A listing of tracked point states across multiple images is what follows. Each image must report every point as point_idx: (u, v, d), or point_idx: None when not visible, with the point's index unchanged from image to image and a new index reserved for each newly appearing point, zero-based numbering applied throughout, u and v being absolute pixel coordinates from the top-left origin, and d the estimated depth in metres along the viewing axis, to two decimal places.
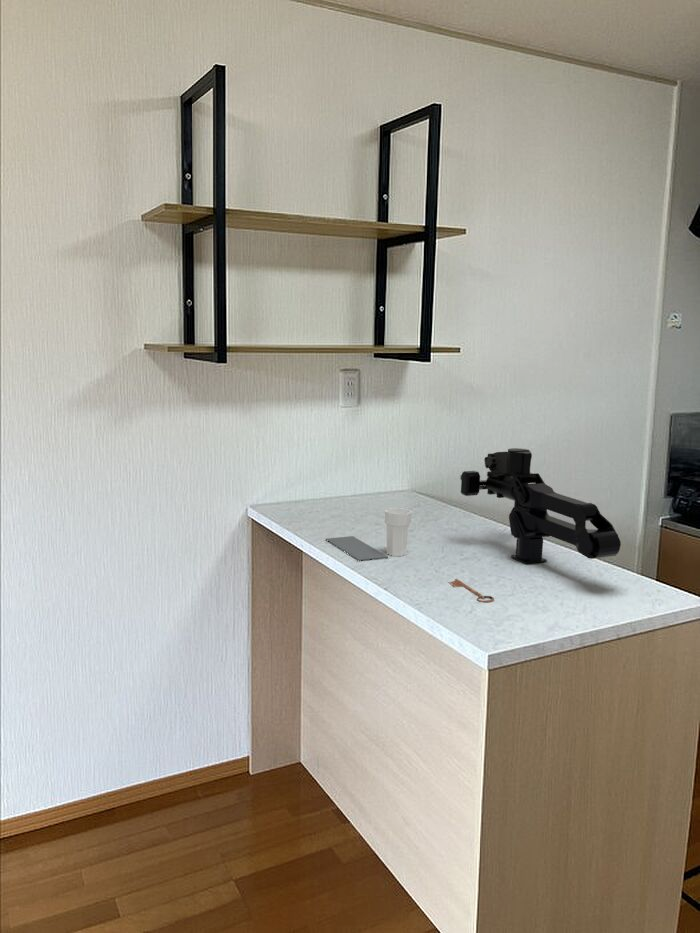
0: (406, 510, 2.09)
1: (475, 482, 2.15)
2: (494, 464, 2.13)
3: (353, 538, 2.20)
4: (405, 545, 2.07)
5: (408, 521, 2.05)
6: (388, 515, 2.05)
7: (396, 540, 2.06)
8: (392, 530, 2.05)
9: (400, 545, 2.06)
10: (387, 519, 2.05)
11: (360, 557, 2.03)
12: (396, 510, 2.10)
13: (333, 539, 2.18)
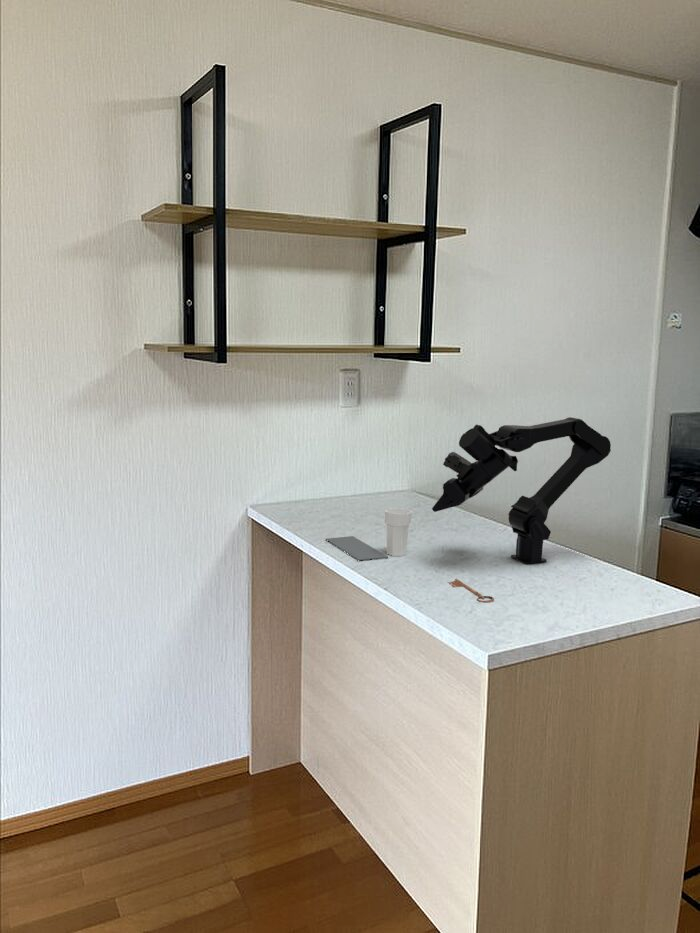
0: (406, 510, 2.09)
1: (460, 484, 1.95)
2: (459, 459, 1.98)
3: (353, 538, 2.20)
4: (405, 545, 2.07)
5: (408, 521, 2.05)
6: (388, 515, 2.05)
7: (396, 540, 2.06)
8: (392, 530, 2.05)
9: (400, 545, 2.06)
10: (387, 519, 2.05)
11: (360, 557, 2.03)
12: (396, 510, 2.10)
13: (333, 539, 2.18)
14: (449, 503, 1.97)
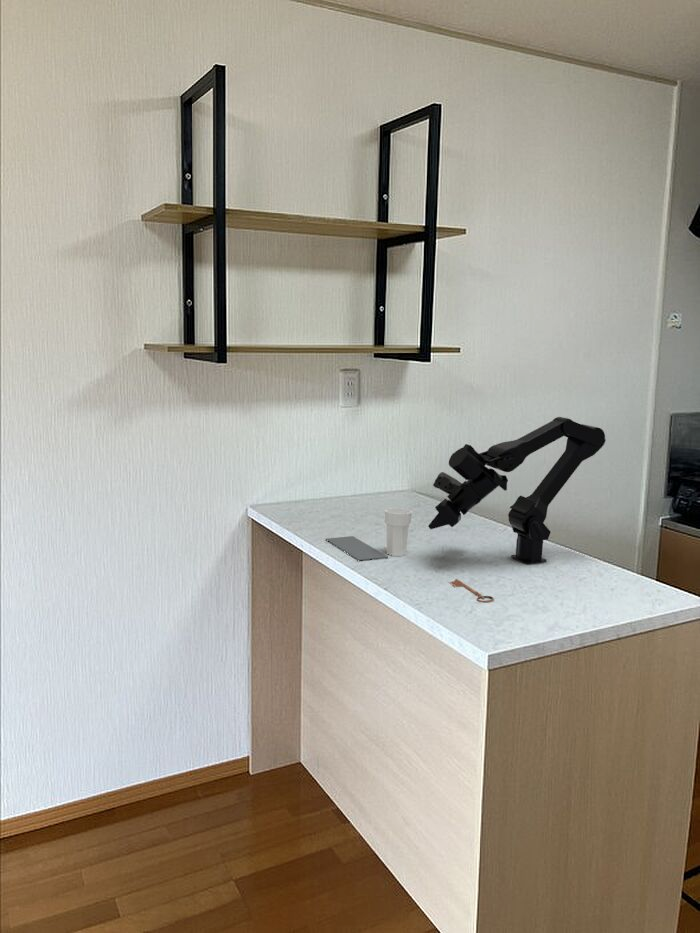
0: (406, 510, 2.09)
1: (452, 506, 1.95)
2: (450, 480, 1.98)
3: (353, 538, 2.20)
4: (405, 545, 2.07)
5: (408, 521, 2.05)
6: (388, 515, 2.05)
7: (396, 540, 2.06)
8: (392, 530, 2.05)
9: (400, 545, 2.06)
10: (387, 519, 2.05)
11: (360, 557, 2.03)
12: (396, 510, 2.10)
13: (333, 539, 2.18)
14: (445, 521, 2.01)
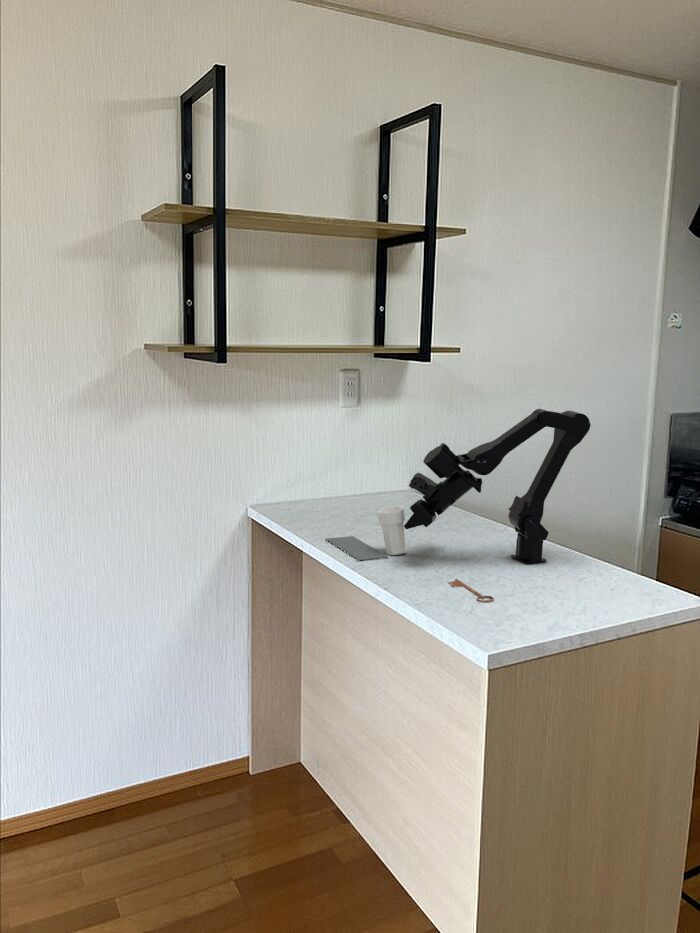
0: (399, 507, 2.09)
1: (427, 506, 1.97)
2: (425, 480, 2.00)
3: (353, 538, 2.20)
4: (403, 542, 2.07)
5: (401, 518, 2.05)
6: (381, 515, 2.05)
7: (393, 539, 2.06)
8: (387, 529, 2.05)
9: (398, 543, 2.06)
10: (381, 520, 2.06)
11: (360, 557, 2.03)
12: (389, 509, 2.10)
13: (333, 539, 2.18)
14: (420, 521, 2.03)
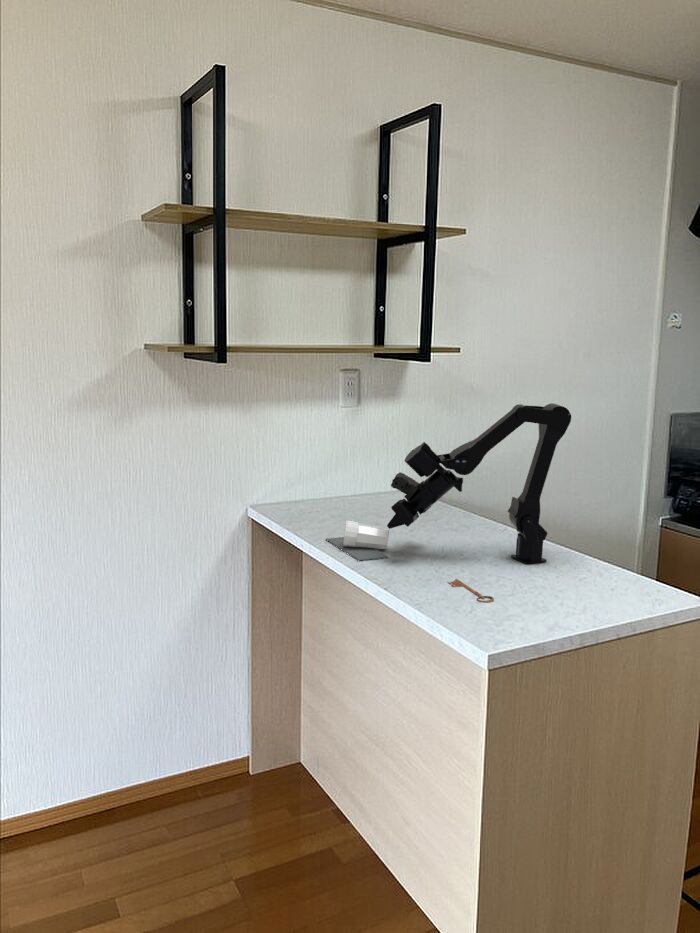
0: None
1: (408, 506, 1.99)
2: (406, 480, 2.02)
3: None
4: None
5: (354, 522, 2.11)
6: (347, 536, 2.08)
7: (372, 532, 2.09)
8: (362, 534, 2.08)
9: (378, 529, 2.10)
10: (351, 538, 2.08)
11: (360, 557, 2.03)
12: None
13: (333, 539, 2.18)
14: None
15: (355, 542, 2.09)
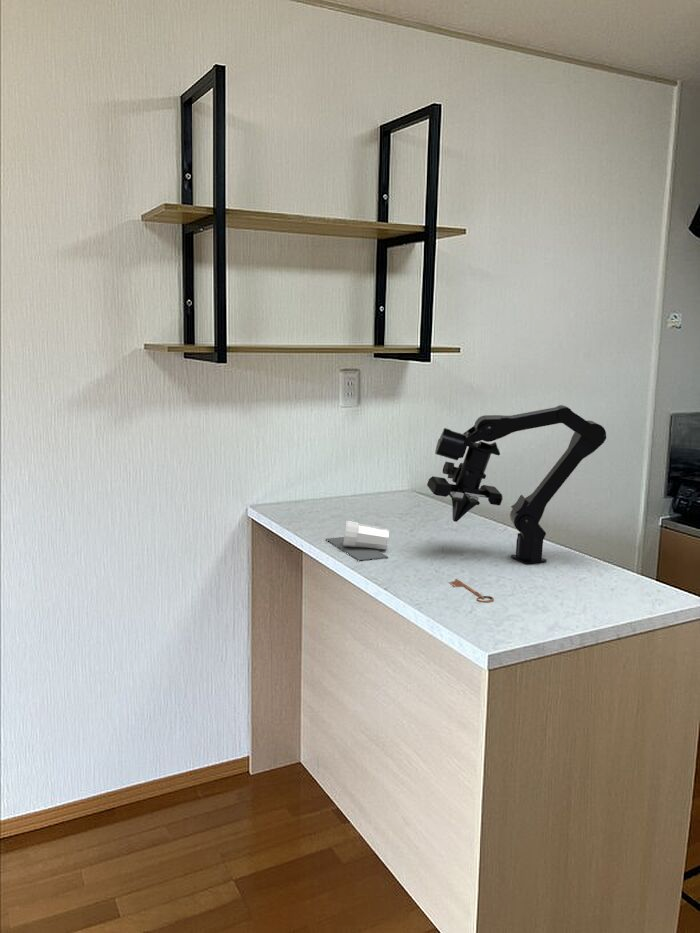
0: None
1: (442, 480, 2.04)
2: (451, 464, 2.09)
3: None
4: None
5: (354, 522, 2.11)
6: (347, 537, 2.08)
7: (372, 532, 2.09)
8: (362, 534, 2.08)
9: (378, 529, 2.10)
10: (351, 538, 2.08)
11: (360, 557, 2.03)
12: None
13: (333, 539, 2.18)
14: (456, 505, 2.06)
15: (355, 542, 2.09)
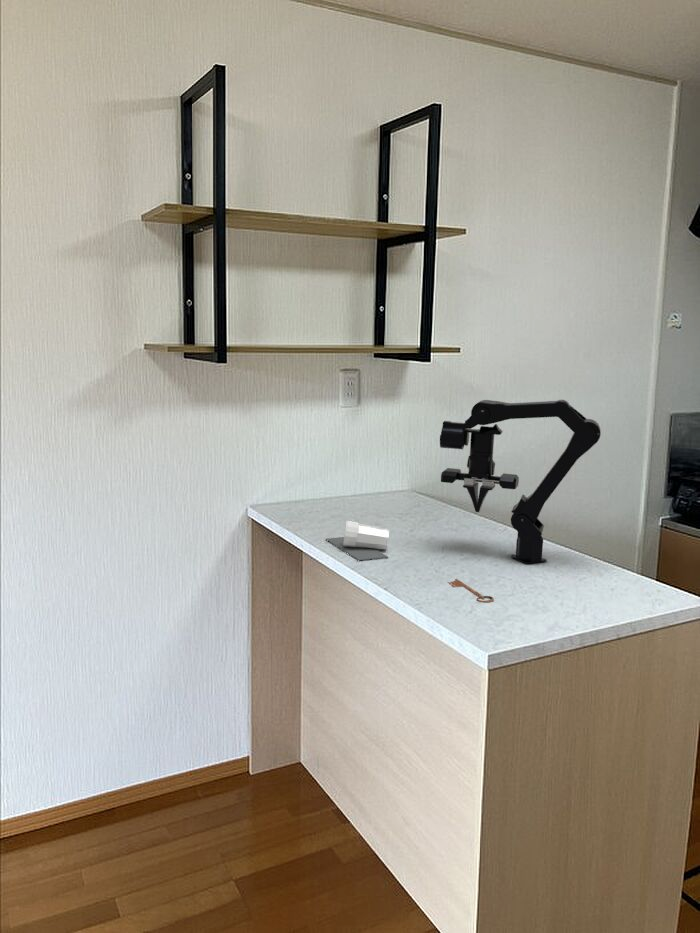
0: None
1: (453, 469, 2.10)
2: None
3: None
4: None
5: (354, 522, 2.11)
6: (347, 537, 2.08)
7: (372, 532, 2.09)
8: (362, 534, 2.08)
9: (378, 529, 2.10)
10: (351, 538, 2.08)
11: (360, 557, 2.03)
12: None
13: (333, 539, 2.18)
14: None
15: (355, 542, 2.09)
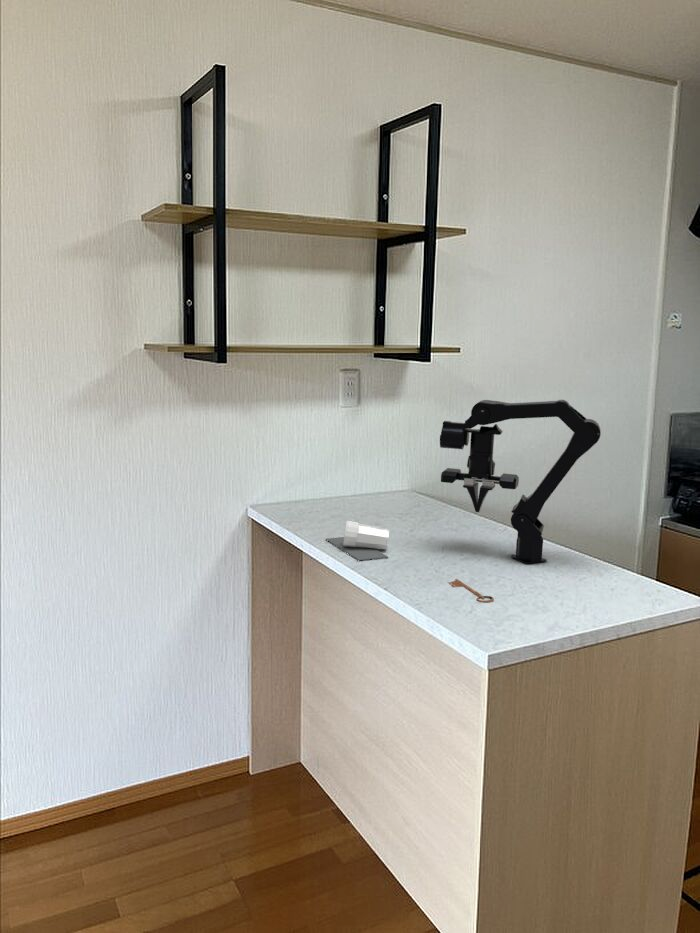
0: (346, 531, 2.14)
1: (453, 469, 2.10)
2: None
3: None
4: None
5: (354, 522, 2.11)
6: (347, 537, 2.08)
7: (372, 532, 2.09)
8: (362, 534, 2.08)
9: (378, 529, 2.10)
10: (351, 538, 2.08)
11: (360, 557, 2.03)
12: None
13: (333, 539, 2.18)
14: None
15: (355, 542, 2.09)
